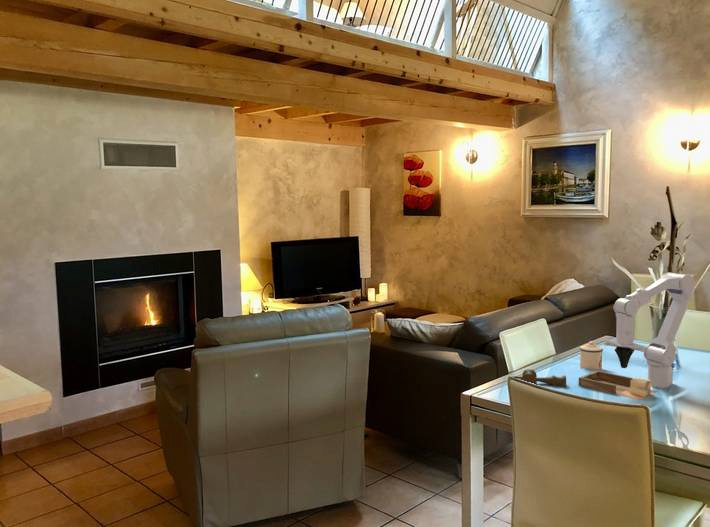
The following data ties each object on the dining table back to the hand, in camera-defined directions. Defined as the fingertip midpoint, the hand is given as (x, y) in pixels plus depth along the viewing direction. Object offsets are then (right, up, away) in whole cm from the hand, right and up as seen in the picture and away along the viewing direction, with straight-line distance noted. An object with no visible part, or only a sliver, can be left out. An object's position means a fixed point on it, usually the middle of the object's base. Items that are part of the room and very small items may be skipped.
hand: (624, 367), depth 217 cm
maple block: (+4, -9, -4) cm, 10 cm away
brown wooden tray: (-1, -9, +3) cm, 10 cm away
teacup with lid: (+1, -6, +34) cm, 35 cm away
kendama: (-28, -10, +11) cm, 32 cm away
